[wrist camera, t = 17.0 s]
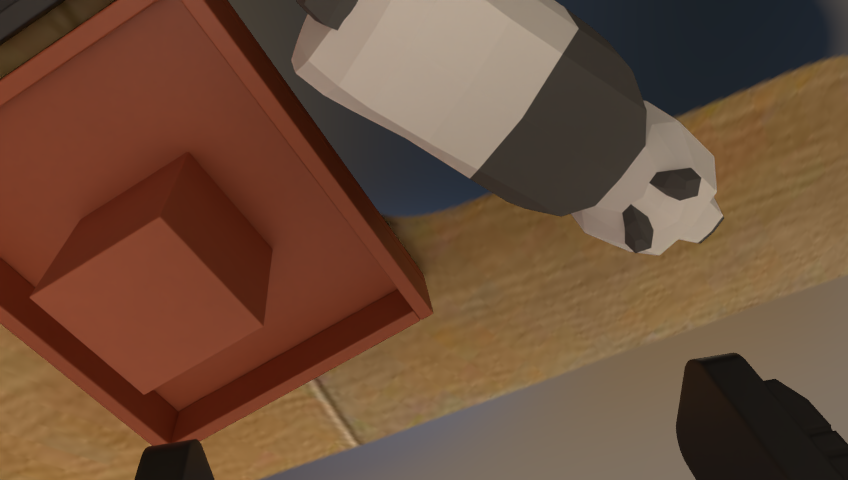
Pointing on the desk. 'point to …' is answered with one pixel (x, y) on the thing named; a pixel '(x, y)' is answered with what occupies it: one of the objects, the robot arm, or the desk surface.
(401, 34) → the giant panda
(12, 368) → the desk surface
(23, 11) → the charcoal tray
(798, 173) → the desk surface
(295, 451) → the desk surface
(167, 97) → the terracotta tray
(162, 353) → the terracotta block
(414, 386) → the desk surface
